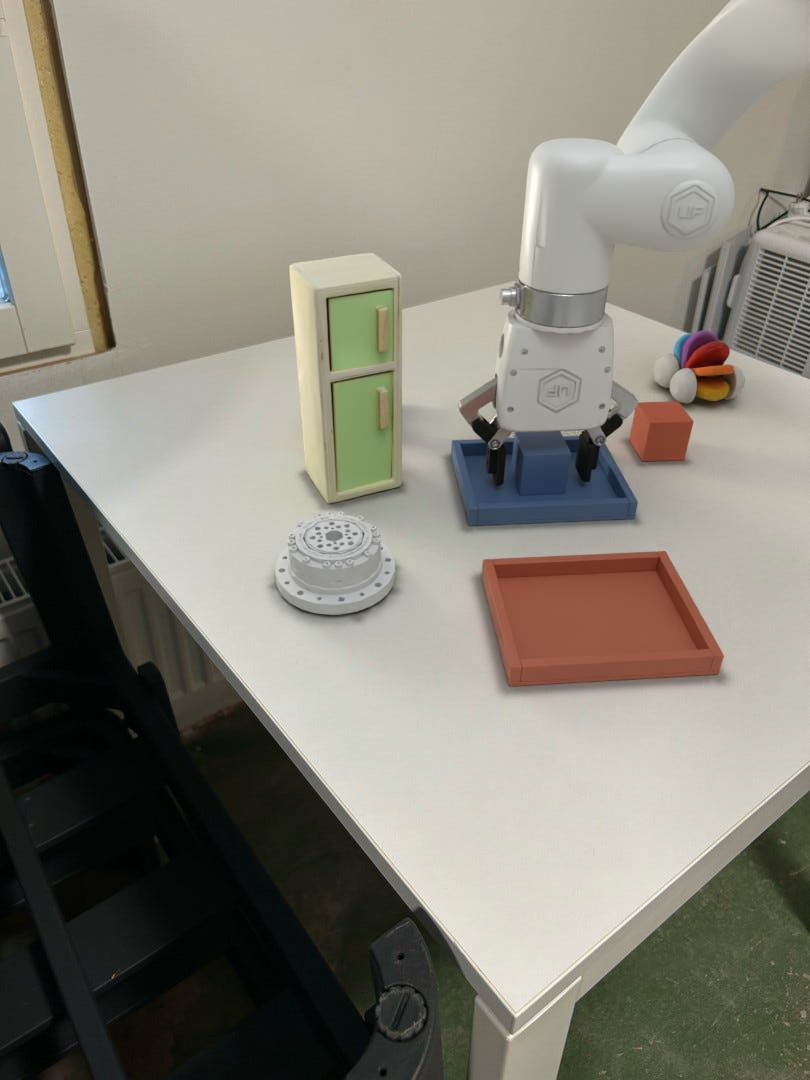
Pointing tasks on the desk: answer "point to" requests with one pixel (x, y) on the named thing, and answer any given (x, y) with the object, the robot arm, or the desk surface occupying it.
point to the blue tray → (506, 506)
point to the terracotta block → (661, 431)
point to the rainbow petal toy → (699, 369)
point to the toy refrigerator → (349, 372)
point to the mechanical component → (335, 565)
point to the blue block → (540, 463)
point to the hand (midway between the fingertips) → (539, 475)
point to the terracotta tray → (596, 619)
